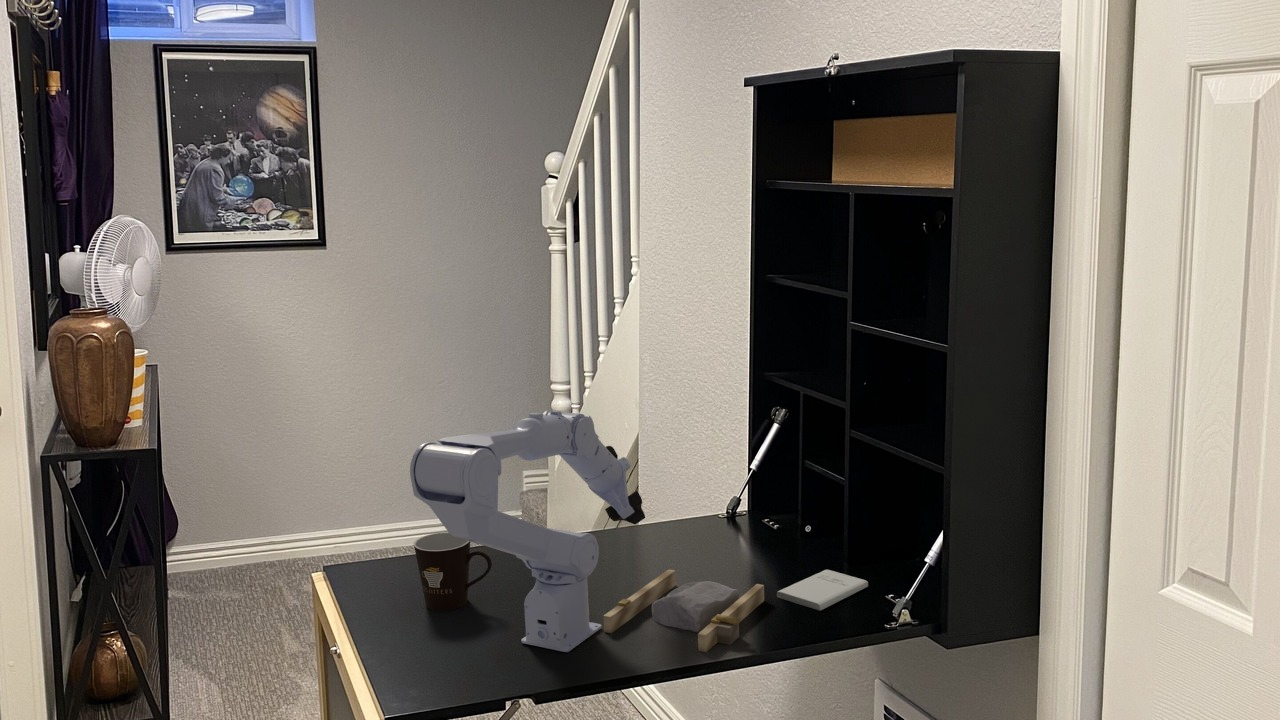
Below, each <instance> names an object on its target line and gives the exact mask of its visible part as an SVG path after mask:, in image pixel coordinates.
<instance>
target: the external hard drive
mask: <svg viewBox="0 0 1280 720" xmlns="http://www.w3.org/2000/svg"><path fill="white" fill-rule="evenodd" d="M868 587H869V582H868V581H867V580H865V579H862V578H858V577H856V576H851V575H848V574H845V573H840V572H838V571H834V570H830V569H824V570H822V571H820V572H818V573H815V574H813V575H811V576H809V577H807V578H804V579H802V580H800V581H797V582H795V583H793V584H791V585H789V586H787V587H784V588H782V589H780V590H778V591H776V598H779V599H782V600H785V601H787V602H791V603H794V604H798V605H801V606H803V607H807V608H811V609H812V610H813V609H814V610H816V611H820V612H821V611H822V610H824V609H826V608H829V607H831V606H832V605H834V604H836V603H839V602H840V601H842V600H844V599H847V598H848V597H850V596H852V595H855V594H856V593H858V592H860V591H862V590H864V589H866V588H868Z"/></svg>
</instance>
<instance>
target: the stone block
mask: <svg viewBox="0 0 1280 720" xmlns="http://www.w3.org/2000/svg"><path fill="white" fill-rule="evenodd" d="M739 598H741V596H740V593H739V590H738V589H737V588H731V586H730V587H729V586H727V585H724V584H722V583H719V582H716V581H710V580H707V581H693V582H688V583H684V584H683V585H681V586H679V587H677V588H674V589H673V590H671V591H670V592H669V593H668V594H666V596H663V597H662V598H661V597H660V598H658V599H657V600H656V601H654V602H653V603H651V614H652V618H653V621H654V622H656V623H658V624H661V625H662V626H664V627H665V626H667V627H672V628H677V629H681V630H684V631H691V632H693V633H699V632H701V631H702V630H703V629H704V628H705V627H706V626H708V625H709V624H710V623H711V619H712V618H714V617H715V616H717V614H720V615H721V614H722V613H723V612H724V611H725V610H726V609H728V608H729V607H730V606H731V605H732V604H734V603H735V602H736V601H737V600H738V599H739Z"/></svg>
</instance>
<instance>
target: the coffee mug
mask: <svg viewBox="0 0 1280 720" xmlns="http://www.w3.org/2000/svg"><path fill="white" fill-rule="evenodd" d="M413 548H414V553H415V558H416V563H417V567H418V572H419V577H420V582H421V587H422V592H423V596H424V602H425V606H426V608H427V609H429V610H432V611H441V612H444V611H445V612H446V611H452V610H456V609H459V608H461V607H463V606H464V605H466V604H467V603H468V595H469V593H468V592H469V588H470V587H471V586H473V585H475V584H477V583H478V582H479V581H481V580H483V579H484V578H485V577H486V576H487V575H488V574H489V573H490V571H491V569H492V566H493V565H492V559H491V557H490V556H489V555H488V554H487V552H483V551H481V550H475V551H472V552H471V541H467V540H464V539H461V538H457V537H454V536H452V535H451V534H450V533H449V532H448V531H446V532H445V531H444V532H442V531H441V532H435V533H430V534H427V535H424V536H420V537H419V538H417V539H416V540H415V541H414V542H413ZM475 556H481V557H483V558H484V559H485V560H486V563H487V568H486V570H485V571H484V572H483V574H482V575H480V576H478V577H477V578H475V579H474V580H472V581H470V582H469V576H470V575H469V574H470V573H469V571H470V561H471V559H472V558H473V557H475Z"/></svg>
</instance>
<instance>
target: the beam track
mask: <svg viewBox="0 0 1280 720" xmlns="http://www.w3.org/2000/svg"><path fill="white" fill-rule="evenodd" d="M676 582H677V579H676V570H674V569H667V570H665V571H664V572H662V573H661V574H660V575H658V576H657V577H655V578H654V579H653V580H651V581H649V583H647V584H646V585H644V586H643V587H642V588H640V589H639V590H637V591H636V592H635V593H633V594H632V595H631V596H629V597H628V598H622V599H621V600H619V601H618V602H617V605H616V606H615V607H613V608H611V610H609V611H608V612H606V613H604V615H603V631H604V633H608V634H613V633H614V632H615V631H616V630H618V629H619V628H620V627H622V626H623V625H624V624H626V623H627V622H629V621H630V620H631V619H633V618H634V617H636V616H637V615H639V613H641V612H642V611H644V610H645V609H646V608H647V607H648V606H650V605H652V603H653V602H654V601H656V600H659V599H661V597H662V596H664V595H665V594H666V593H668V592H669V591H670V590H671V589H673V588H675V587H676V585H677V583H676ZM764 602H765V585H764V584H760V583H756V584H754V586H752V587H751V588H750V589H749V590H747V592H745V593H744V594H743V595H741V596H740V598H739V599H738V600H737V601H736V602H735V603H734V604H732V605H731V606H730V607H729V608H728V609H726V610H725V611H724V612H723V613H722V614H721V615H720V614H717V616H715V617H714V618H712V619H711V623H710V624H709V625H708V626H706V627H705V628H704V629H703V630H702V631H700V632H697V644H698V645H697V649H698V651H699V652H701V653H702V652H703V653H708V652H709V650H711V649H712V648H713V647H714V646H715V645H716V644H722V645H729V646H730V645H732V644H733V643H734V642H735V641H736V640H737V639H739V637H740V623H741V622H742V621H743V620H744V619H745V618H746V617H748V616H749V614H751V613H752V612H753V611H754V610H756V609H757V608H758V607H759V606H760V605H761V604H762V603H764Z"/></svg>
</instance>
